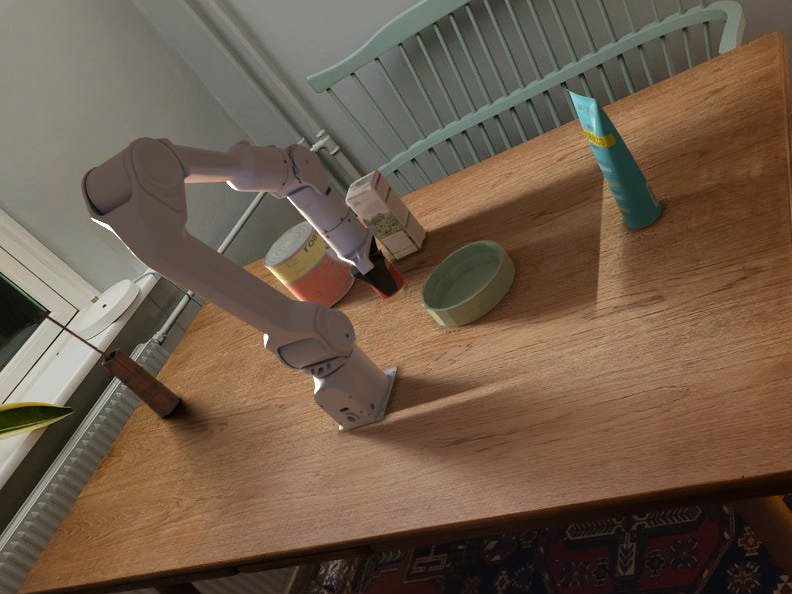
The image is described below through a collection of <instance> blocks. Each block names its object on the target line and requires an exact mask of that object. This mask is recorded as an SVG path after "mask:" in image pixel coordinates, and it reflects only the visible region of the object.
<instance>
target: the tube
mask: <svg viewBox="0 0 792 594" xmlns="http://www.w3.org/2000/svg"><path fill="white" fill-rule="evenodd" d="M566 91H568V93H569V95H570V98H571V100H572V104H573V106H574V108H575V109H574V110H575V112H576V114H577V117H578V119H579V122H580V124H581V128H582V129H583V132H584V134H585V137H586V139H587V141H588V143H589V146H590V148H591V151H592V153H593V156H594V157H595V159H596V162H597V164H598V167H599V168H600V170H601V172H602V175H603V178H604V179H605V181H606V184H607V186H608V189H609V191H610V192H611V194H612V197H613V199H614V201H615V204H616V205H617V207H618V209H619V212H620V213H621V216H622V218H623V219H624V222H625V224H626V226H627V227H628V228H630V229H633V230H640V229H645V228H646V227H649V226H651V225H653V224H654V222H655V221H656V220H658V218H659V217H660V215H661V214H662V206H661V204H660V202H659V199H658V198H657V196H656V195H655V193H654V190H653V189H652V187H651V185H650V183H649V182H648V180H647V178H646V177H645V175H644V173H643V171H642V170H641V168H640V166H639V165H638V162H637V161H636V159H635V158H634V156H633V154H632V152H631V151H630V148H629V147H628V145H627V144H626V143H625V141H624V139H623V137H622V136H621V134H620V132H619V131H618V130H617V128H616V126H615V124H614V122H613V121H612V120H611V118H610V117H609V115H608V114H607V113H606V111H605V110H604V108H603V107H602V106H601V105H600V104H599V102H598V101H597V99H595V98H593V97H590V96H584V95H581V94H579V93H577V92H575V91H573V90H570V89H569V88H566Z"/></svg>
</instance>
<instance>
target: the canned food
mask: <svg viewBox="0 0 792 594" xmlns="http://www.w3.org/2000/svg"><path fill="white" fill-rule="evenodd" d="M262 264H263V266H264V267H265V268H267V269H268V270H269V271H270V272H271V273H272V274H273V275H274V277H276V278H277V279H278V280H279V281H280V283H282V284H283V286H285V287H286V288H287V289H288V290H289V291H290V292H291V293H292V294H293V295H294V297H296V298H297V300H298V301H306V302H316V303H319V304H321V305H322V306H324V307H326V308H330V309H331V308H332V307H333V306H335V304H337V303H338V302H339V301H341V300H342V299H343V298H344V297H345V296H346V294H348V292H349V291H350V289H351V288H352V286H353V284H354V283H355V280H356V279H355V278H354V277H353V276H352V275H351V273H350V269H352V268H353V267H351V265H350V263H348V262H345V261H343V260H341V259H340V258H339V257H338V256H337V253H336V252H335V251H334V249H333V248H332V247H331V246H330V245H329V244H328V243H327V242H326V241H325V239H324V238H323V237H322V236H321V235H320V234H319V233H318V232H317V230H316V229H315V228H314V227H313V226H312V225H311V224H310V223H309V222H308V220H306V221H305V220H304V221H302V222H299V223H297V224H295V225H294V226H292V227H290V228H289V229H287V230H286V231H284V232H283V233H282V234H281V235H280V236H279V237H278V238H277V239H276V240H275V241H274V242H273V243H272V244H271V246H269V248H268V249H267V252H266V253H265V254H264V257H263V260H262Z"/></svg>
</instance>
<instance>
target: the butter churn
mask: <svg viewBox="0 0 792 594" xmlns="http://www.w3.org/2000/svg"><path fill="white" fill-rule="evenodd" d="M38 314H40V315H41V316H43V317H44V318H45V319H47V320H49V321H50V322H51V323H53V324H55V325H56V326H58V327H59V328H61V329H62V330H64V331H65V332H67V333H69V334H70V335H72V336H74V338H76V339H78V340H79V341H80V342H82V343H84V344H85V345H87V346H88V347H89V348H91V349H93V350H94V351H96V352H97V353H98V354H100V355H101V356H103V357H105V358H104V359H103V361H102V362H101V365H102V366H103V367H104V368H105V370H107V371H108V372H109V373H110V374H112V376H114V378H115V377H116V379H118V380H119V381H120V382H121V383H122V384H123V386H125V387H126V388H127V389H128V390H129V391H131V393H133V394H134V395H135V396H137V397H138V399H140V400H141V401H142V403H144V404H145V405H146V406H147V407H148V408H149V409H150V410H152V411H153V412H154V413H155V414H156V415H157V416H158V417H159V418H164V417H165V416H168V415H170V414H171V413H172V412H173V411H174V409H175V408H176V407H177V406H178V405H179V403H180V397H179V396H178V395H177V394H176V393H175V392H173V391H172V390H171V389H170V388H169V387H167V386H166V385H165V384H164V383H163V382H161V381H160V380H158V379H157V378H156V377H154V375H153V374H151V373H150V372H149V371H148V370H146V369H145V368H144V367H143V366H142V365H140V364H139V363H138V362H136V361H135V360H134V359H133V358H131V357H130V356H128V355H127V354H126V353H125V352H123V351H121V348H117V349H114V350H112V351H110V352H109V353H108V354H107V353H105V352H104V351H102V350H101V349H99V348H98V347H97V346H95V345H93V344H92V343H90V342H89V341H87V340H86V339H85V338H82V337H81V336H80V335H78V334H76V332H74V331H72V330H70V329H69V328H68V327H67V326H65V325H63V324H62V323H60V322H59V321H57V320H56V319H54V318H53V317H51V316H50V315H48V314H47V313H46V312H44V311H42V310H39V311H38Z"/></svg>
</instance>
